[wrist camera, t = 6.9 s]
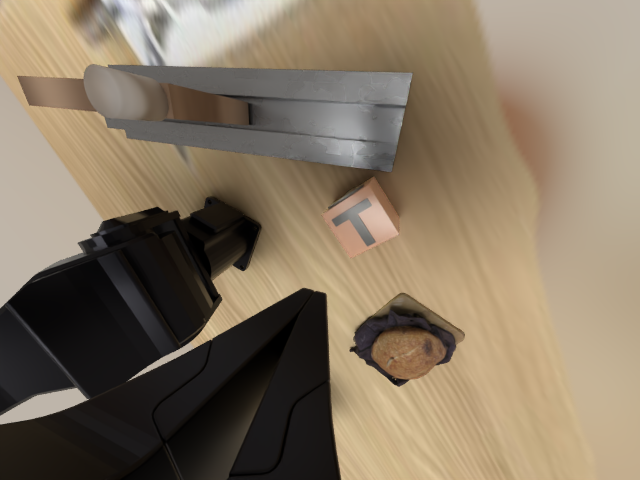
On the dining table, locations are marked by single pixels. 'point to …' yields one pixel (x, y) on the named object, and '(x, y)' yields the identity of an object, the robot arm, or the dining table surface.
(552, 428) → the dining table surface
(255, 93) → the track
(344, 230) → the lettered cube
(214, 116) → the screen
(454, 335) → the bread roll
